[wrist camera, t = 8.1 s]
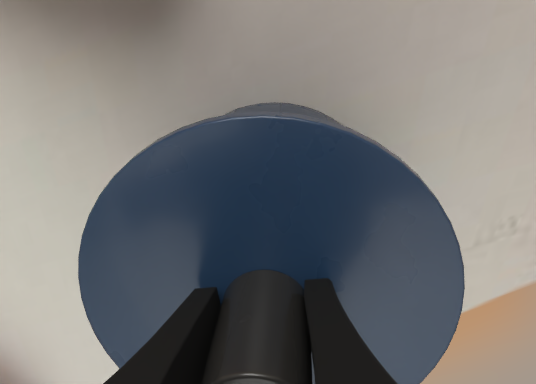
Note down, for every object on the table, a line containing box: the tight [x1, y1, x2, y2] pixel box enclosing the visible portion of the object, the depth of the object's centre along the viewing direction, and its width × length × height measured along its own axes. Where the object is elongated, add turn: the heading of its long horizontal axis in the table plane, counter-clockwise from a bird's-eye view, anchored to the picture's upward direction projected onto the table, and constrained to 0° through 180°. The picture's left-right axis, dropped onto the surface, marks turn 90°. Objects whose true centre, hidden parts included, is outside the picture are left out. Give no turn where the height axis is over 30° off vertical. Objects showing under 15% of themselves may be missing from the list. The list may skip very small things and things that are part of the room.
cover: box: [78, 111, 465, 384], centre depth 11 cm, size 11×11×5 cm
